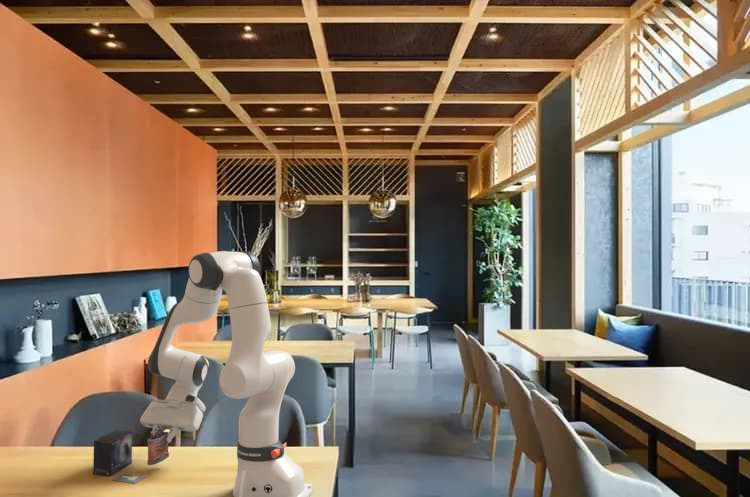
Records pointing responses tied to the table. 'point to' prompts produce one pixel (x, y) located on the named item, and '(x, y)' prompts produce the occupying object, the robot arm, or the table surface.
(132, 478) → the card
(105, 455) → the small box
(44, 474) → the table surface
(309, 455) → the table surface
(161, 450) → the lighter
